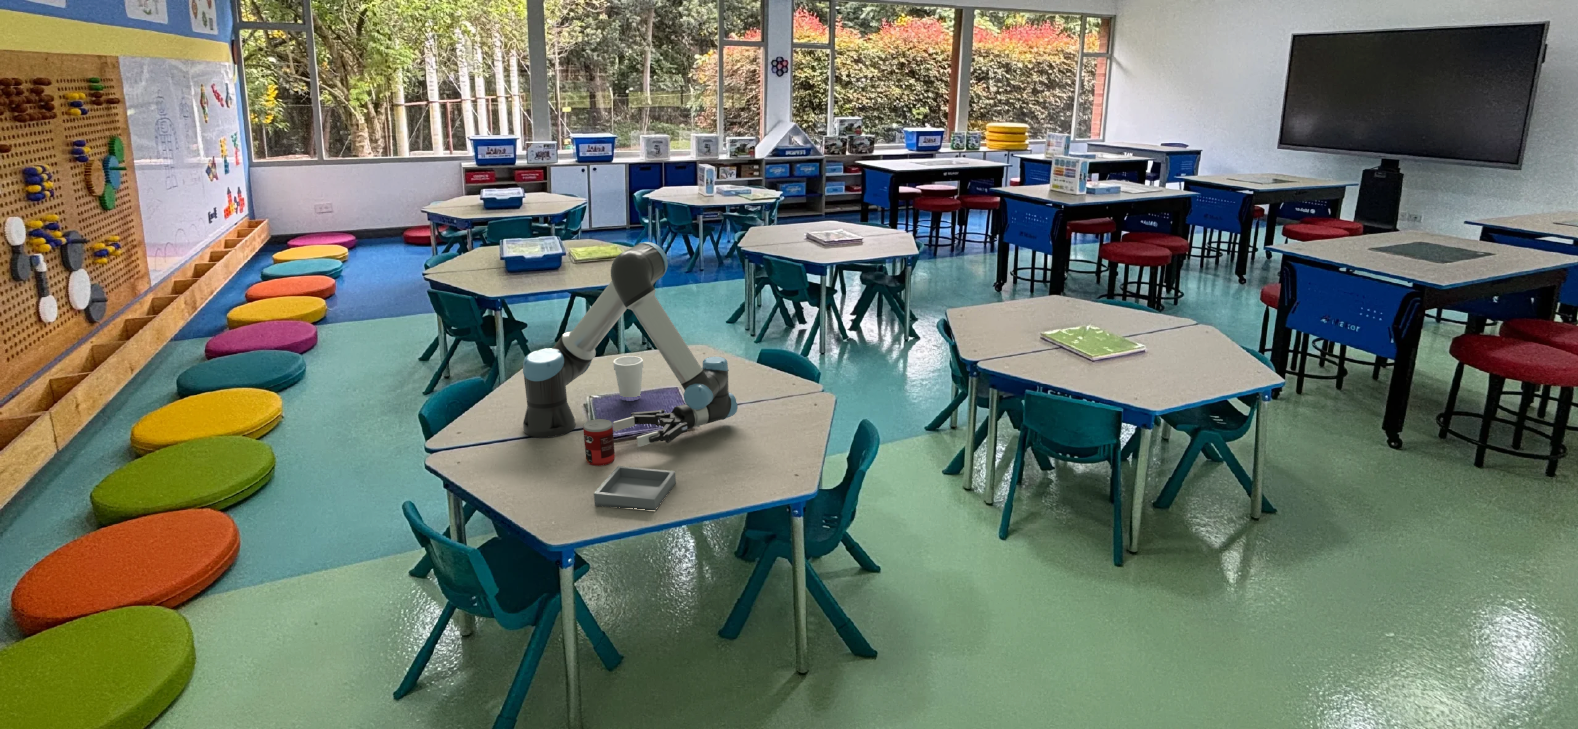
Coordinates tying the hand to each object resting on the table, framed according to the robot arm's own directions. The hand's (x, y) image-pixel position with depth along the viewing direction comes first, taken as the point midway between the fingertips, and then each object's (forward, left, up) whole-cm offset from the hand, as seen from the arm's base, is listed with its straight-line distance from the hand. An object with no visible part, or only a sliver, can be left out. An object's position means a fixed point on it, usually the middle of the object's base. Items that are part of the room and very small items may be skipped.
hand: (625, 434), depth 258 cm
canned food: (-5, -6, -6) cm, 10 cm away
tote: (+12, -23, -6) cm, 26 cm away
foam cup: (-14, +40, -6) cm, 43 cm away
